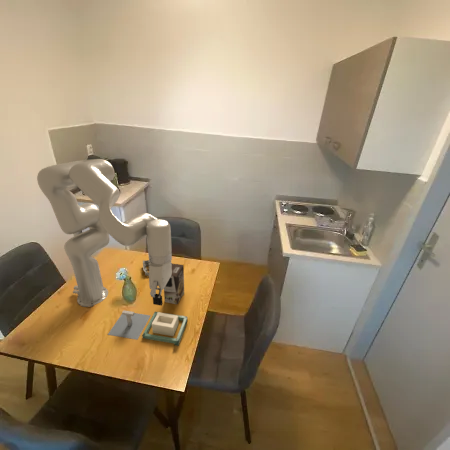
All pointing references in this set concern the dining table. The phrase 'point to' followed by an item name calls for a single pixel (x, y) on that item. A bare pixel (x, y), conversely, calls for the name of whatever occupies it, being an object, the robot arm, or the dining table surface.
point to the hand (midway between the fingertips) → (163, 294)
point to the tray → (162, 338)
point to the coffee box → (175, 285)
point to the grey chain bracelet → (145, 266)
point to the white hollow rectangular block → (165, 324)
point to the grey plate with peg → (129, 325)
